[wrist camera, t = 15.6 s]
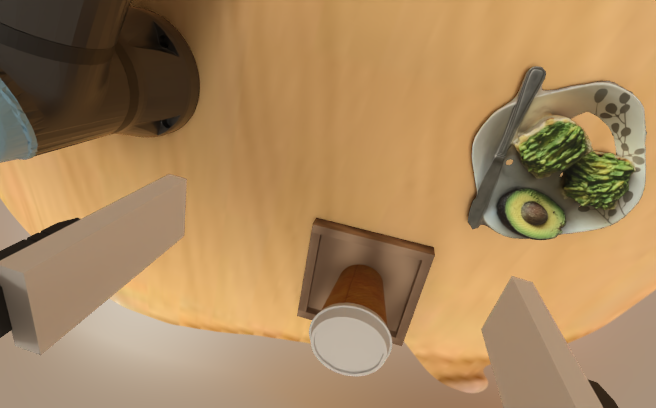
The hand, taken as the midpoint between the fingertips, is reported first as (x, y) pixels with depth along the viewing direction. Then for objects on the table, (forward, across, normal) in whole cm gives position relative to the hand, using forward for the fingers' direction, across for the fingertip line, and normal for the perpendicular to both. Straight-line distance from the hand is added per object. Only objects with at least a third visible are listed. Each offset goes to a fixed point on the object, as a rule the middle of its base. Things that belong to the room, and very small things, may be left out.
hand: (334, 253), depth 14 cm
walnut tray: (+29, +4, -22) cm, 37 cm away
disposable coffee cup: (+29, +4, -22) cm, 37 cm away
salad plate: (+30, +20, 0) cm, 36 cm away
